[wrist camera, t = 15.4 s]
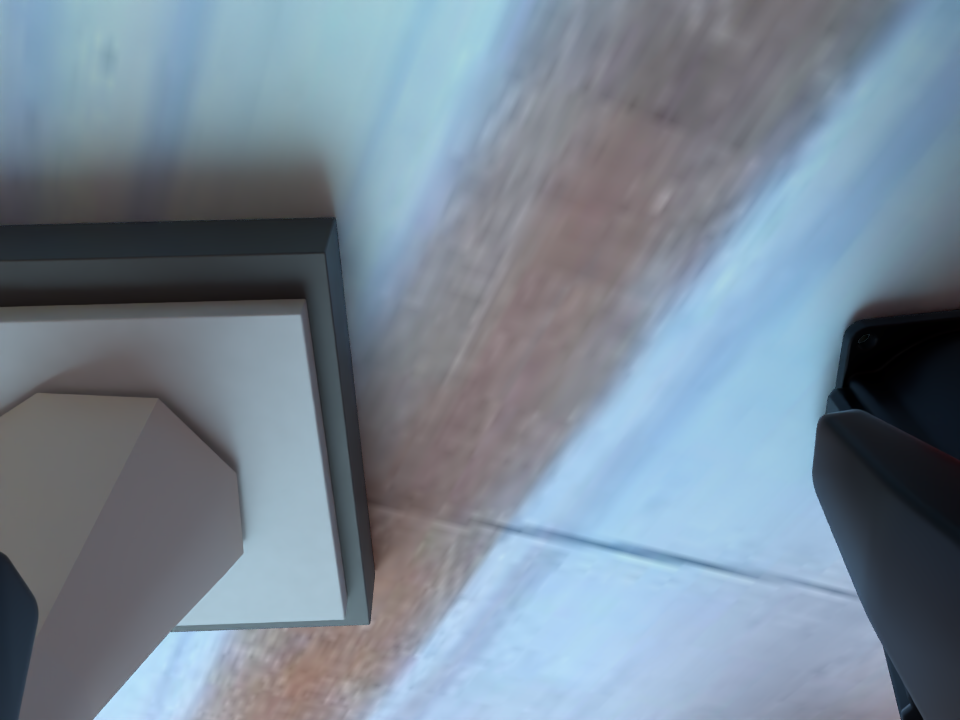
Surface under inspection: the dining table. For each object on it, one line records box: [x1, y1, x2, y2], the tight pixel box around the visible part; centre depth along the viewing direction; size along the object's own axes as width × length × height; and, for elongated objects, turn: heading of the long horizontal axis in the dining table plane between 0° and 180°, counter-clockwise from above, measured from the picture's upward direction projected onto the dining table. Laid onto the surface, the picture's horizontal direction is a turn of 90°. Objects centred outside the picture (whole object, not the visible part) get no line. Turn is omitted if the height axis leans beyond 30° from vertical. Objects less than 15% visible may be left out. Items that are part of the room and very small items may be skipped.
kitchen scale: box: [0, 218, 375, 632], centre depth 23 cm, size 13×13×3 cm
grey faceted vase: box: [0, 393, 244, 720], centre depth 18 cm, size 7×7×10 cm
